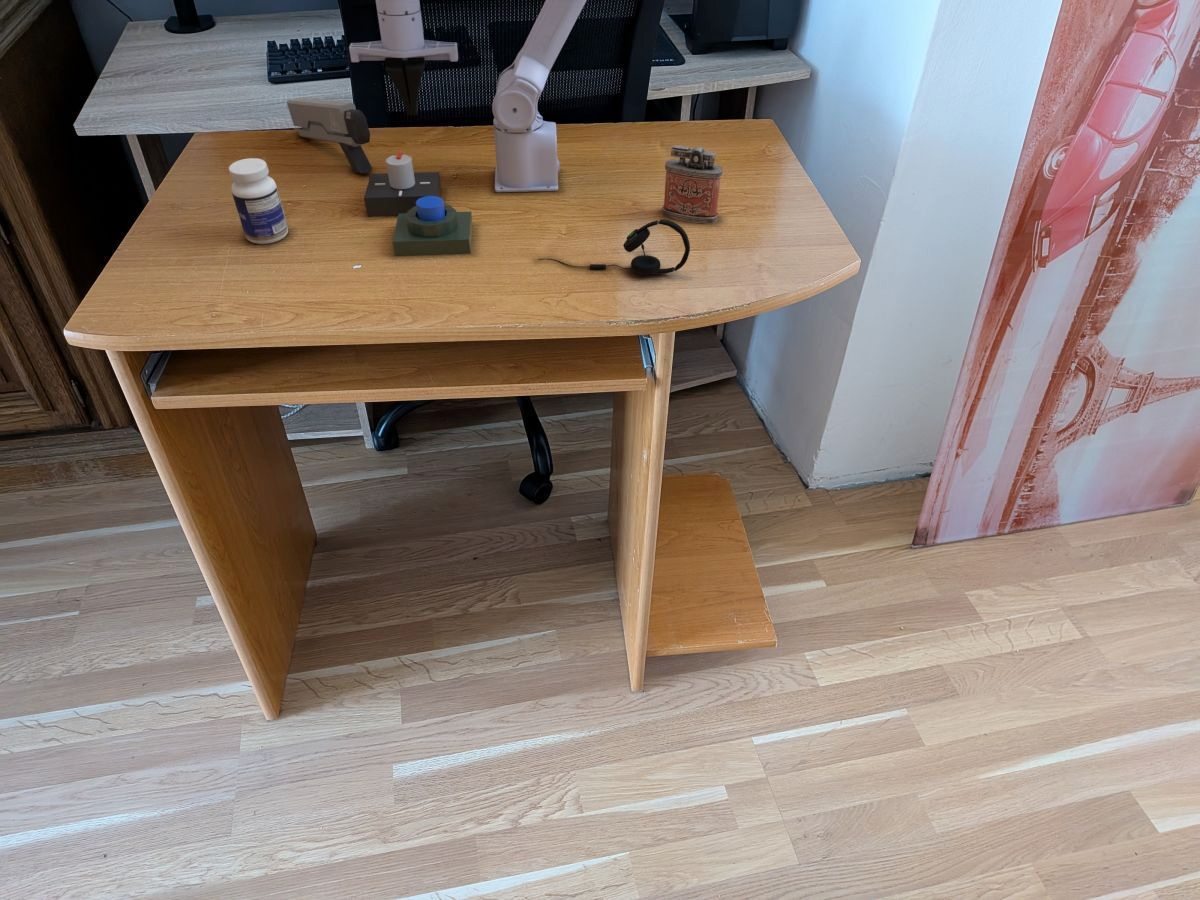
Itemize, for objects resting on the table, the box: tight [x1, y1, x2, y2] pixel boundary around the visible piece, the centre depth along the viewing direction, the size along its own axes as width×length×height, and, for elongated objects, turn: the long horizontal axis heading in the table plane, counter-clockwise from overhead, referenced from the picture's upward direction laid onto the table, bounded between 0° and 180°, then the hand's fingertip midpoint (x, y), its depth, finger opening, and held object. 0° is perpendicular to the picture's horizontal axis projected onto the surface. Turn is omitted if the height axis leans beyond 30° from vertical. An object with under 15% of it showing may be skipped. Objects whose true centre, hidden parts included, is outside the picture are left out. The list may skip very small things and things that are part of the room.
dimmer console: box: [363, 171, 443, 218], centre depth 121 cm, size 10×8×3 cm
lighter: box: [661, 144, 723, 225], centre depth 117 cm, size 8×3×10 cm, turn 71°
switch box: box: [392, 203, 474, 257], centre depth 112 cm, size 10×8×4 cm
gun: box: [286, 97, 373, 175], centre depth 132 cm, size 2×25×10 cm, turn 41°
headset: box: [537, 219, 691, 276], centre depth 109 cm, size 7×7×20 cm
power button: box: [416, 196, 445, 221], centre depth 111 cm, size 4×4×2 cm
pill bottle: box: [228, 157, 289, 245], centre depth 111 cm, size 6×6×10 cm
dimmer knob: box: [385, 152, 415, 189], centre depth 119 cm, size 4×4×4 cm
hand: (412, 112), depth 121 cm, fingers closed
